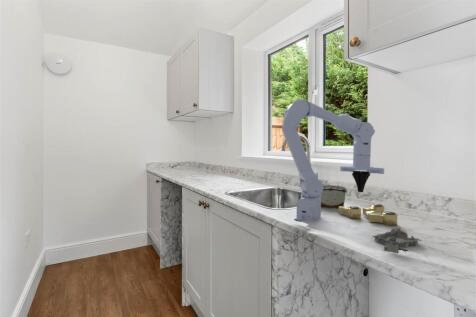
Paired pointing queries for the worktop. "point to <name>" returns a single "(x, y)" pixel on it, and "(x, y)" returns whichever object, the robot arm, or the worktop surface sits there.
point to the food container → (333, 196)
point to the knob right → (384, 218)
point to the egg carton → (391, 241)
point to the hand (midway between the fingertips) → (360, 191)
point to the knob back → (374, 208)
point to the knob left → (350, 212)
